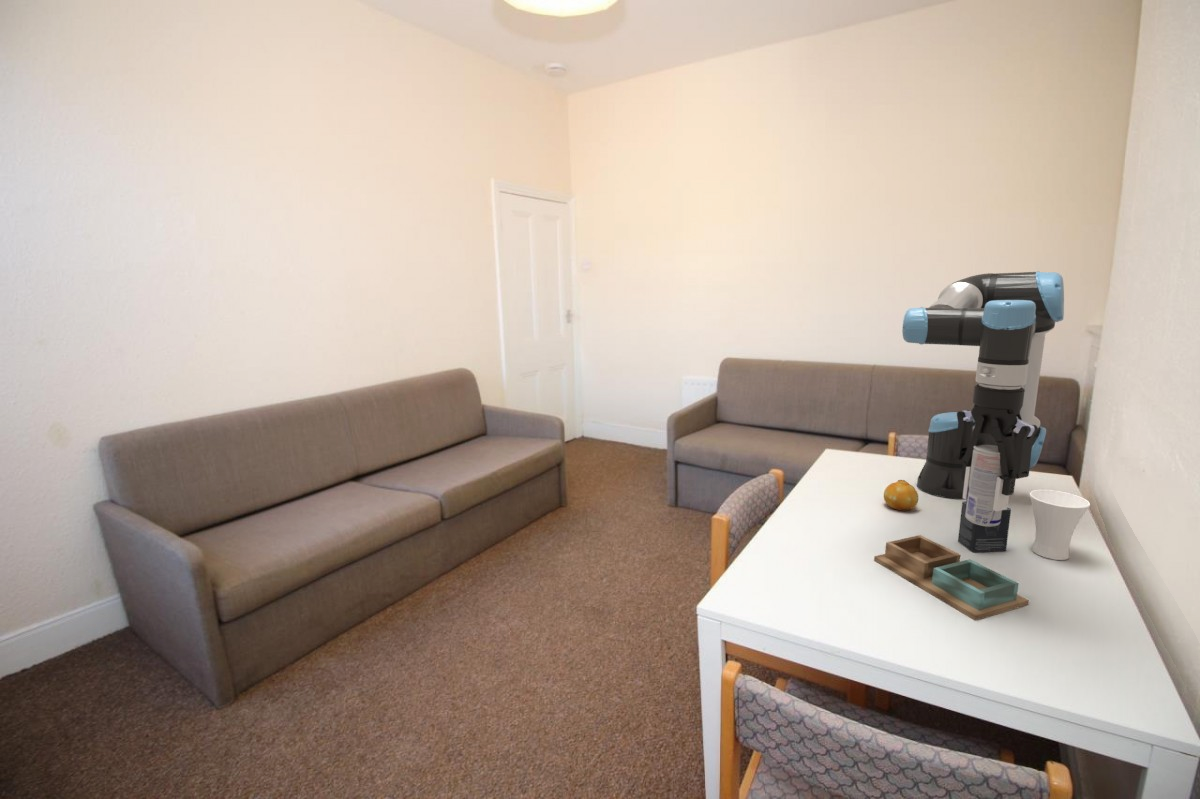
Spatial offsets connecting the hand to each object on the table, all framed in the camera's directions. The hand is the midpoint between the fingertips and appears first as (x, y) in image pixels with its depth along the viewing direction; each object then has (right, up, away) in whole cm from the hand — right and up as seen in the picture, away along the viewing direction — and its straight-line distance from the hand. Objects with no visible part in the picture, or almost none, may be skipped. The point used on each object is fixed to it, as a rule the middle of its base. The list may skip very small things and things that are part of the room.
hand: (984, 503), depth 105 cm
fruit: (+9, -10, +46) cm, 48 cm away
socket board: (-1, -18, +10) cm, 21 cm away
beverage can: (0, -4, +1) cm, 4 cm away
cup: (+29, -15, +20) cm, 38 cm away
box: (+16, -15, +24) cm, 32 cm away
